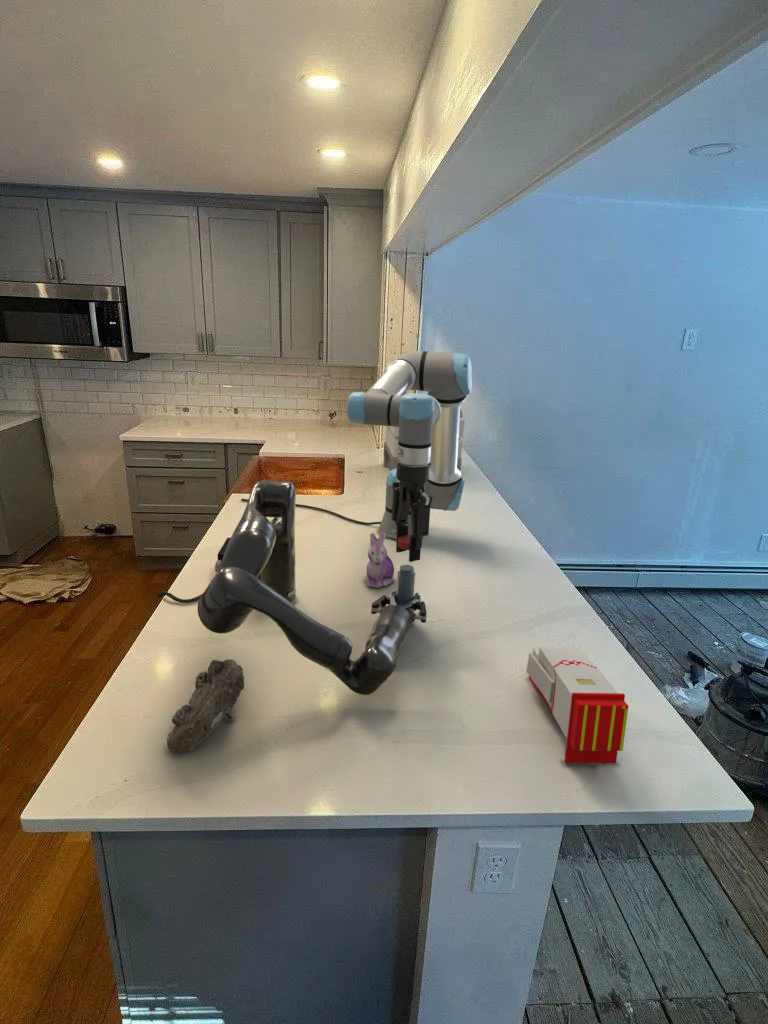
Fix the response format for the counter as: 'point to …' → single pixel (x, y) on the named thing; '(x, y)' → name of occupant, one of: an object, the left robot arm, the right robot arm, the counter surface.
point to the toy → (580, 703)
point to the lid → (404, 542)
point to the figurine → (379, 563)
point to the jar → (405, 584)
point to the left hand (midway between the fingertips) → (407, 594)
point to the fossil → (206, 705)
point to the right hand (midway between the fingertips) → (407, 555)
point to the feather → (273, 520)
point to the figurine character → (221, 554)
